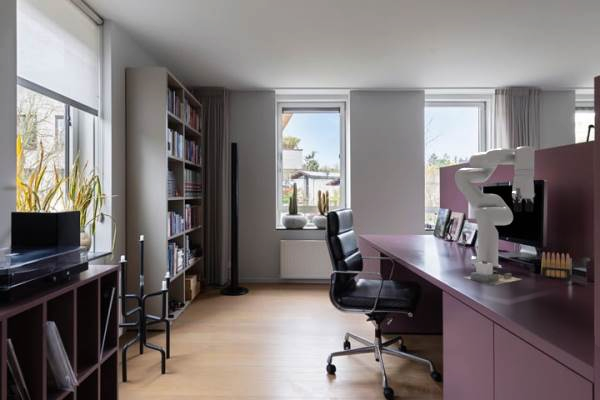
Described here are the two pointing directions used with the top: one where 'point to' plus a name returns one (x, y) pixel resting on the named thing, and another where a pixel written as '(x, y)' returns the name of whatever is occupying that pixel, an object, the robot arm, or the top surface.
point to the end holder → (484, 277)
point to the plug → (484, 268)
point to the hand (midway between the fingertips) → (523, 211)
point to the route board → (501, 278)
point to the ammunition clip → (557, 271)
